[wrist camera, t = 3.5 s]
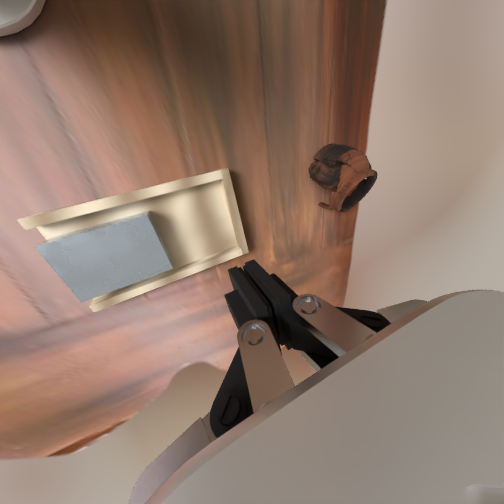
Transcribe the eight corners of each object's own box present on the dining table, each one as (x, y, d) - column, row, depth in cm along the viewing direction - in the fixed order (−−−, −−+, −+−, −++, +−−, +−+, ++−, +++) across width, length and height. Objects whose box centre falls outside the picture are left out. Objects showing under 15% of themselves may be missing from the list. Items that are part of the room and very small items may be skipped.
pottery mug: (350, 142, 31) (393, 166, 27) (319, 192, 38) (350, 217, 34) (308, 127, 24) (357, 156, 20) (278, 191, 30) (311, 222, 27)
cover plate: (149, 210, 22) (146, 215, 20) (172, 259, 25) (172, 268, 23) (51, 237, 20) (34, 246, 17) (91, 288, 23) (81, 302, 20)
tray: (223, 168, 24) (228, 168, 22) (243, 247, 30) (248, 252, 28) (31, 215, 19) (16, 219, 17) (99, 301, 24) (94, 312, 22)
